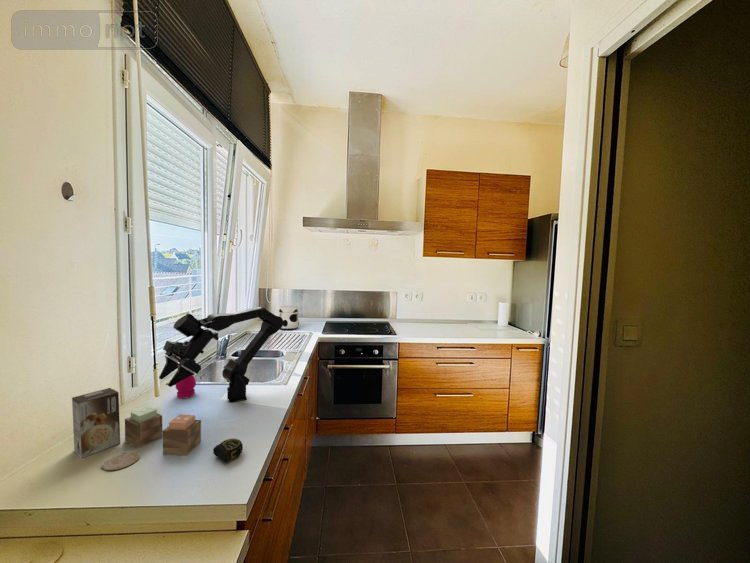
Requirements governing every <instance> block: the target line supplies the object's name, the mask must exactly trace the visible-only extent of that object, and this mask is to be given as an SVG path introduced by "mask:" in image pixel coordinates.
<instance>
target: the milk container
mask: <svg viewBox="0 0 750 563" xmlns="http://www.w3.org/2000/svg"><path fill="white" fill-rule="evenodd" d="M278 316H279V317H281V318H282V319H283V326H282V327H281V328H280V329H279V330H285V331H286V330H287V331H288V330H295V329H297V328H299V325H300V320H299V307H298V306H295V305H283V306H279V308H278Z"/></svg>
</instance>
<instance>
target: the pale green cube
mask: <svg viewBox="0 0 750 563" xmlns="http://www.w3.org/2000/svg"><path fill="white" fill-rule="evenodd" d="M157 411H158V410H157V409H156V408H153V407H151V406H149V405H147V406H144V407H141V408H139V409H136V410H132V411H131V412H130V417H131V420H133V421H135V422H137V423H141V422H144V421H146V420H149V419H151V418H154V417H156V416H157V413H158V412H157Z"/></svg>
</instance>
